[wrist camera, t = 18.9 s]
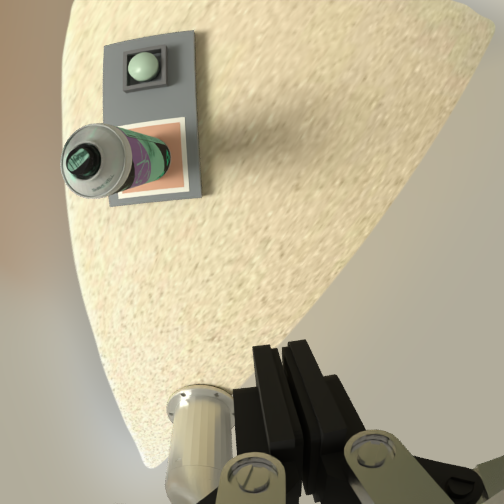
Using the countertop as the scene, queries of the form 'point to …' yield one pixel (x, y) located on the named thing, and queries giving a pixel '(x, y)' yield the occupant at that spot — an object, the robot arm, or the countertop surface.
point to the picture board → (157, 111)
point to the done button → (144, 67)
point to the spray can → (111, 160)
